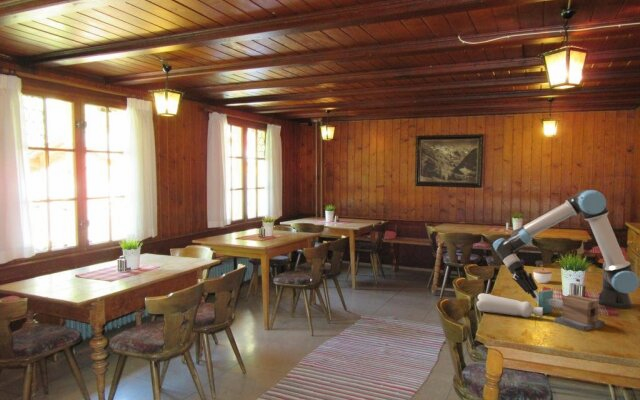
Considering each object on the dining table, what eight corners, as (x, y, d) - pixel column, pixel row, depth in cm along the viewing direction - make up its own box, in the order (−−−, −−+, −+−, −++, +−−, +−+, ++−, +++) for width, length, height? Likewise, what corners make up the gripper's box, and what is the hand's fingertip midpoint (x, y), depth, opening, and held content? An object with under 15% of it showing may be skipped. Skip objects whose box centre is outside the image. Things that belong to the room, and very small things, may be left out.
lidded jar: (550, 285, 291) (551, 270, 290) (531, 282, 296) (532, 268, 296) (552, 281, 300) (552, 267, 299) (534, 279, 305) (534, 265, 305)
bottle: (475, 307, 233) (541, 318, 218) (478, 290, 236) (543, 300, 222) (477, 312, 240) (541, 324, 225) (480, 296, 243) (543, 306, 228)
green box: (548, 311, 235) (549, 289, 234) (583, 321, 219) (583, 298, 219) (538, 313, 231) (538, 291, 231) (572, 323, 216) (573, 300, 215)
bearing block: (575, 317, 227) (576, 293, 226) (604, 325, 215) (605, 300, 214) (554, 322, 219) (555, 297, 218) (583, 331, 207) (584, 304, 206)
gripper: (517, 267, 253) (544, 305, 239) (501, 269, 247) (527, 308, 233) (526, 259, 248) (554, 297, 234) (509, 261, 242) (537, 300, 228)
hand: (540, 302), depth 234 cm, fingers closed
